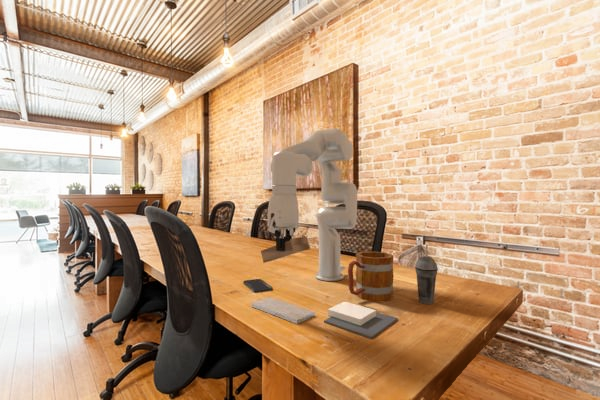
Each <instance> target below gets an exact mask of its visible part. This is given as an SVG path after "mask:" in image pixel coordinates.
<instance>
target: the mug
mask: <svg viewBox="0 0 600 400" xmlns="http://www.w3.org/2000/svg"><path fill="white" fill-rule="evenodd" d="M394 257H395V256H394V254H390V253H388V252H381V251H360V252H358V253H356V254H355V260H352V261H351V262H349V263H348V267H347V275H348V290H349V293H350V294H351V295H355V296H356V297H358V298H359V299H360V300H363V301H368V302H371V303H372V302H373V303H380V302H381V303H382V302H390V301H392V299H393V298H394V277H395V275H394ZM355 265H356V266H355ZM354 266H355V267H356V268H355V269H356V270H355V280H356V289H355V288H354V286H355V285H354V284H355V283H354Z"/></svg>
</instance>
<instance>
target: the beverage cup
mask: <svg viewBox="0 0 600 400" xmlns="http://www.w3.org/2000/svg"><path fill="white" fill-rule="evenodd" d="M414 268H415V273H416V282H417V295H418V296H417V297H418V301H419V303H421V304H425V305H433V304H434V298H435V291H436V279H437V275H438V271H439V268H438V264H437V262H436V261H435V259H433V258H432V257H431V256H428V243H426V244H425V256H421V257H419V258H418V259H417V261H416V262H415V267H414Z"/></svg>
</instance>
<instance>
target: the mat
mask: <svg viewBox="0 0 600 400" xmlns="http://www.w3.org/2000/svg"><path fill="white" fill-rule="evenodd" d="M398 320H399V318H398V317H397V316H392V315H388V314H385V313H381V312H378V311H376V317H375V318H373V319H371V320H370V321H368V322H367V323H365V324H363V325H362V326H357V325H354V324H351V323H348V322H345V321H342V320H339V319H336V318H333V317H330V316H329V317H328V318H326V319H324V320H323V323H325V324H328V325H330V326H332V327H333V326H334V327H336V328H339V329H342V330H345V331H347V332H351V333H354V334H356V335H359V336H362V337H365V338H368V339H371V340H373V338H375V337H376V336H378V335H379V334H380V333H381V332H383V331H385V329H387V328H388V327H390V326H392V325H393V324H394V323H395V322H397V321H398Z"/></svg>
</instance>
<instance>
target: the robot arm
mask: <svg viewBox="0 0 600 400" xmlns="http://www.w3.org/2000/svg"><path fill="white" fill-rule="evenodd" d="M353 155H354V147H353V144H352V142H351V141H350V139H349V137H348V136H347V135H346V133H345V132H344V131H343V130H341V129H340V128H329V129H319V130H316V131H314V132H313V133H311V134H310V135H309V136H308V137H306V138H305V139H304V140H303V141H301V142H298V143H295V144H293V145H290V146H288V147H286V148H283V149H282V150H280V151H276V152H274V153H273V155H272V159H271V162H270V172H271V173H272V174H271V175H272V176H271V177H272V178H271V179H272V181H271V182H272V183H271V184H272V187H271V190H272V191H271V193H272V194H271V195H270V197H269V201H268V207H267V223H266V224H267V227H268V228H267V231H268V232H270V233H272V234H273V236H274V238H275V246H276V250H277V251H282V252H283V251H285V242H287V241H290V239H293V238H294V234H295V232H296V231H297V230H298V229H299V227H300V226H299V222H300V220H299V217H300V216H299V215H300V213H299V203H298V197H297V191H298V190H297V178H305V177H308V176H309V175H310V174H311V173H312V172H313V168H314V166H313V165H314V164H313V163H314V162H315V161H317V164H318V165H319V167H320V170H321V189H320V191H321V199H322V202H324V203H325V204H329V205H330V204H333V205H345V206H323V207H321V208H319V209H318V210H317V212H316V222H317V227H318V272H316V273H315V278H316V279H317V280H320V281H325V282H337V281H341V280H343V279H344V278H345V277H344V276H345V275H344V274H343V273H342V271H344V270H346V267H345V265H341V237H340V234H339V232H338V231H337V230H336V229H339V230H340V229H341V230H346V229H347V230H352V229H354V228H355V227H356V225H357V217H358V189H357V186H356V184H354V183H353V182H346V181H345V182H343V181H342V171H341V168H340V167H339V166H338V165H337V164H336V162H347V161H349V160H351V159H352V157H353Z"/></svg>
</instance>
